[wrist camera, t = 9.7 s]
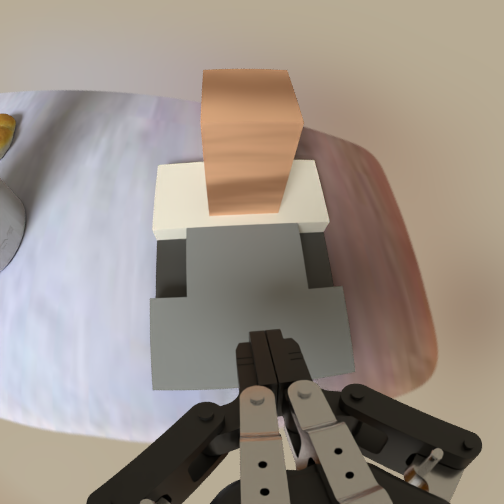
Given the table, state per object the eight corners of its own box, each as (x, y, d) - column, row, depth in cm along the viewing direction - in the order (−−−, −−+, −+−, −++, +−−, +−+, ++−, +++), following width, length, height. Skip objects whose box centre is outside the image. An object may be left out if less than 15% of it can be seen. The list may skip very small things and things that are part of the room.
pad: (322, 233, 24) (329, 221, 22) (158, 241, 22) (152, 230, 21) (309, 174, 26) (314, 160, 24) (162, 179, 25) (158, 165, 23)
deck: (344, 372, 19) (355, 371, 18) (159, 388, 18) (152, 389, 16) (322, 233, 24) (329, 221, 22) (158, 241, 22) (152, 230, 21)
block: (278, 213, 22) (304, 122, 14) (209, 216, 21) (200, 122, 13) (269, 160, 24) (287, 70, 15) (208, 162, 23) (203, 69, 15)
